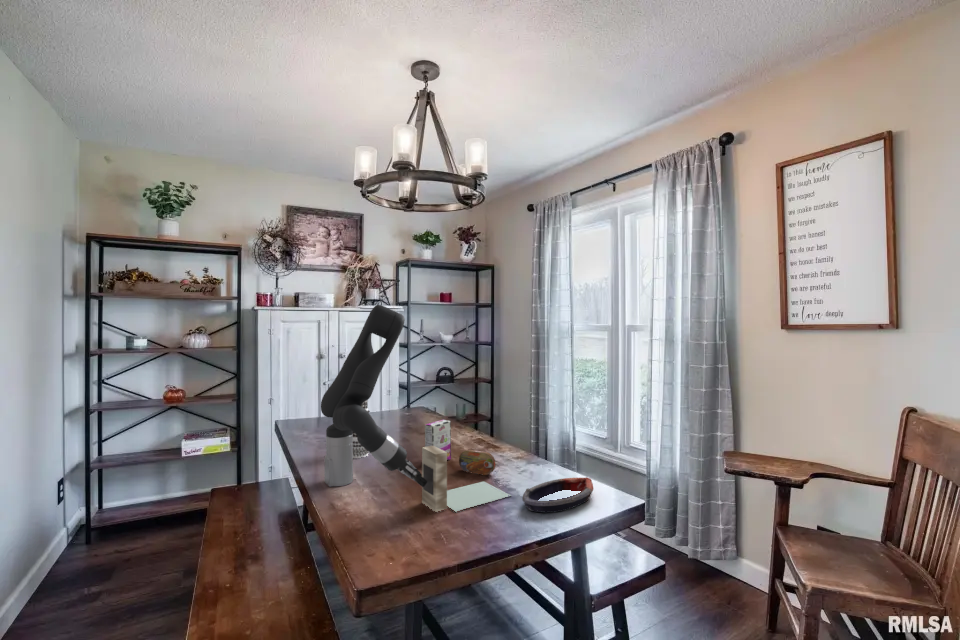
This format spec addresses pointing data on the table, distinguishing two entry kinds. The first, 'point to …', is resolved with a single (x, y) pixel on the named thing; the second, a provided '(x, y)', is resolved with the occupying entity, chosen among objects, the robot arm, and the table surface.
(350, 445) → the robot arm
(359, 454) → the decorative candle
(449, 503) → the rubber mat
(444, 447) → the candy bar box
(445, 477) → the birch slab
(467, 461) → the tin
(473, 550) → the table surface
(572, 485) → the dark oval ring
